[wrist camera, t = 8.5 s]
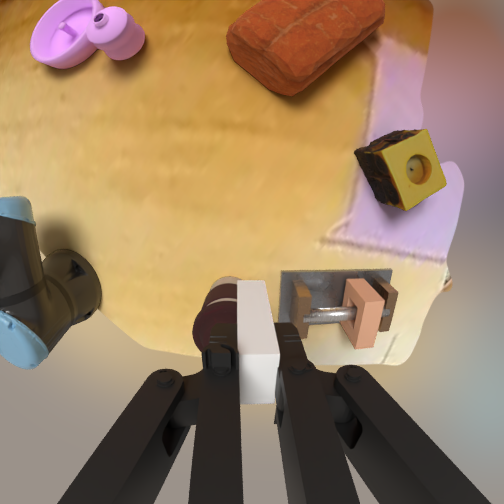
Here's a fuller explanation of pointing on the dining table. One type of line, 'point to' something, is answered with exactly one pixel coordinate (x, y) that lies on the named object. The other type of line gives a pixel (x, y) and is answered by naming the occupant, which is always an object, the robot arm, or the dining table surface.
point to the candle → (402, 168)
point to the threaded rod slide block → (329, 297)
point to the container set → (84, 33)
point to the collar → (362, 313)
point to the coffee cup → (216, 310)
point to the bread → (299, 38)
